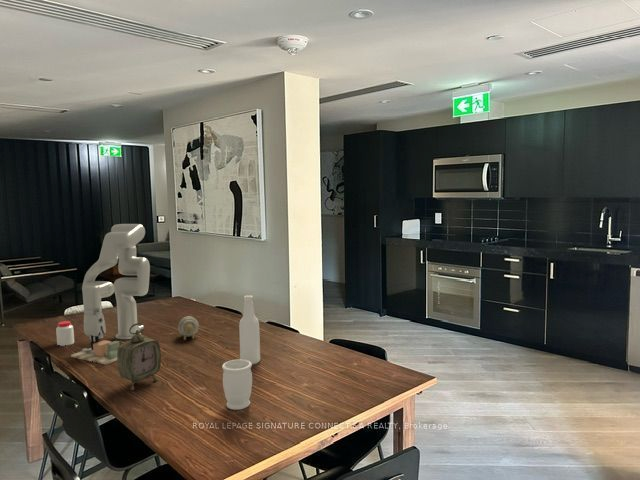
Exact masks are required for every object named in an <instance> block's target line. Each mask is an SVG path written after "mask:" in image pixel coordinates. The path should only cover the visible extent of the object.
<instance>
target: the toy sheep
mask: <svg viewBox="0 0 640 480" xmlns="http://www.w3.org/2000/svg"><path fill="white" fill-rule="evenodd" d="M199 328H200V324H199V321H198V319H196V318H195V317H193V316H189V315H188V316H184V317H182V319H180V321H179V322H178V325H177V329H178V332H179V334H181V335H182V336H183V340H184V341H186V340H187V337H189V338H190V337H191V339H192V340H194V339H195V335H196V334H197V333H198V331H199Z"/></svg>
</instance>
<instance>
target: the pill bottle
mask: <svg viewBox="0 0 640 480" xmlns="http://www.w3.org/2000/svg"><path fill="white" fill-rule="evenodd" d="M57 324H58V325H57V327H56V329H55V331H56V334H55V335H56V345H57V346H58V345H60V346H59V347H64V346H65V345H66V346H69V345H70V346H71V345H72V344H74V343H75V333H74V332H75V331H74V325H72V323H71V321H69V320H64V321H59V322H58V323H57Z"/></svg>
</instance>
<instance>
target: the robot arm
mask: <svg viewBox="0 0 640 480" xmlns="http://www.w3.org/2000/svg"><path fill="white" fill-rule="evenodd" d="M145 235H146V229H145V227H144V226H143V224H141V223H119V224H114V225H113V226H112V227H111V229H110V232H107V233H106V234H105V235H104V239H103V242H102V246H101V250H100V254H99V258H98V260H97V261H95V263H93V264H92V265H91V266H90V267H89V269H88V270H87V271H86V273H85V274H84V278H83V282H82V285H81V291H82V301H83V331H84V333H83V334H85V335H86V336H87V337H88V338H89V341H90V348H91V350H93V344H94V343H97V342H100V340H101V339H103V338H104V335H105V334H106V333H107V332H106V331H107V328H106V321H105V317H104V313H103V310H102V309H103V308H102V307H103V306H102V299H103V298H109V297H111V296H112V295H113V294H115V300H116V313H117V330H118V331H117V332H118V333H116V334H115V339H118V340H131V338H132V336H133V335H135V334H131V333H130V332H129V329H130V327H131V326H132V325H134V324H136V323H138V312H137V311H138V310H137V301H136V300H135V298H134V296H135V297H136V296H137V297H138V296H139V297H143V296H145V295H147V294H148V292H149V286H150V276H151V275H150V274H151V273H150V272H151V265H150V261H149V260H148V258H146V257H142V256H139V257H137V246H136V245H137V244H138V243H140V242H141V241H142V240H143V239H144V237H145ZM117 264H118V265H117ZM116 265H117V267H118V268H117V269H118V270H117V271H118V272H119V274H121V275H123V276H137V277H120V278H117V279H115V281H114V282H113V283H112V281H111V282H110V281H104V280H102V281H101V280H96V278H97V277H98V275H100V274H101V273H102V272H104V271H107V270H109V269H110V268H113V267H114V266H116ZM144 326H145V325H144ZM144 326H143V325H141V324H139V325H135V326H133V327H132V328H131V330H130V331H131V332H132V333H136V330H138V331H141V330H142V329H143V328H144ZM144 329H145V328H144ZM139 334H142V332H141V333H139Z"/></svg>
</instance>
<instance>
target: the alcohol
mask: <svg viewBox="0 0 640 480" xmlns="http://www.w3.org/2000/svg"><path fill="white" fill-rule="evenodd" d="M253 297H254V296H253V295H252V294H247V295H244V296H243V300H244V301H243V316H242V317H241V319H240V320H239V324H238V327H239V329H238V330H239V358H240V359H243V360H248V361H250V362H251V363H252V366H253V365H257V364H258V363H259V362H260V361H261V343H260V341H261V339H260V335H261V334H260V321H259V319H258V318H257V316H256V315H255V309H254V298H253Z"/></svg>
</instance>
